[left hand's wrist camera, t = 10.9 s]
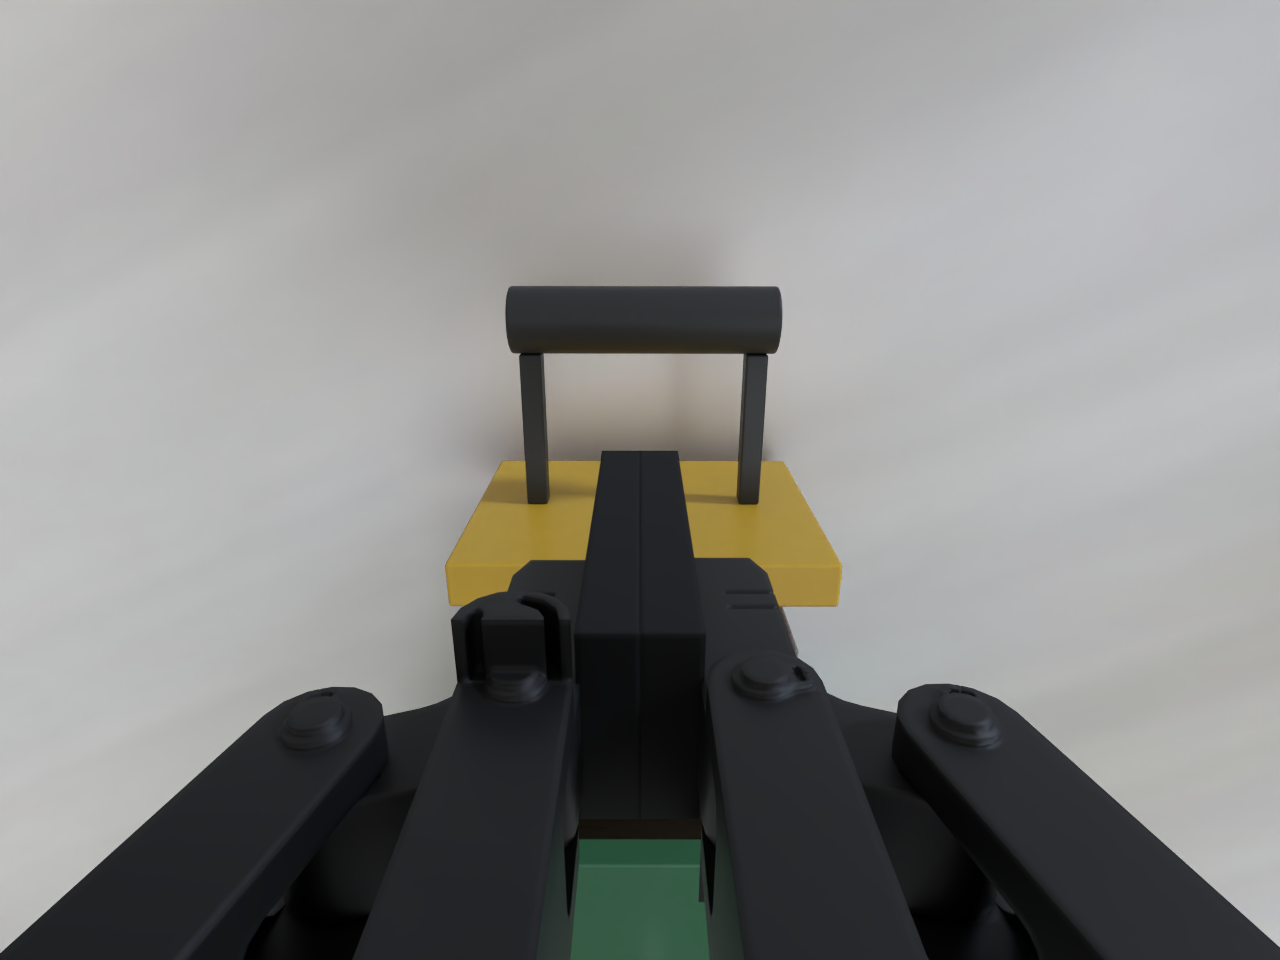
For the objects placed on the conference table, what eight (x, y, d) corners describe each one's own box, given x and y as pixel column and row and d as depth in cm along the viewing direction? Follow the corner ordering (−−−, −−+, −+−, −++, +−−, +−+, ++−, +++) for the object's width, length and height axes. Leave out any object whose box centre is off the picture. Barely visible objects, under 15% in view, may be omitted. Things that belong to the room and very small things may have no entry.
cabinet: (505, 658, 29) (443, 865, 20) (779, 658, 29) (842, 865, 20) (526, 932, 34) (484, 1194, 25) (756, 933, 34) (798, 1195, 25)
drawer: (488, 274, 23) (416, 305, 15) (798, 274, 23) (872, 306, 15) (523, 782, 30) (486, 968, 23) (759, 782, 30) (798, 968, 23)
